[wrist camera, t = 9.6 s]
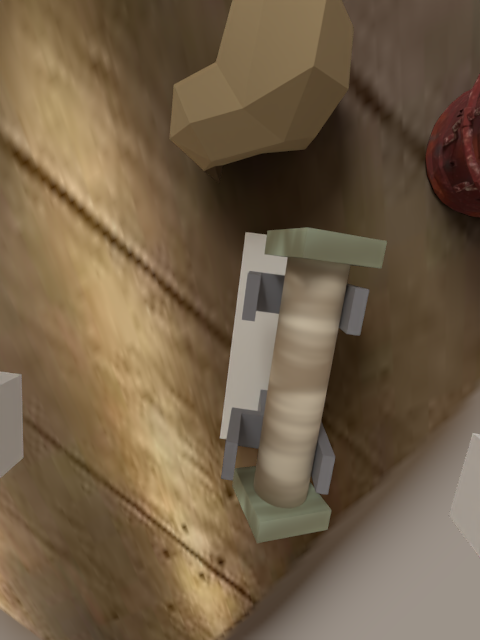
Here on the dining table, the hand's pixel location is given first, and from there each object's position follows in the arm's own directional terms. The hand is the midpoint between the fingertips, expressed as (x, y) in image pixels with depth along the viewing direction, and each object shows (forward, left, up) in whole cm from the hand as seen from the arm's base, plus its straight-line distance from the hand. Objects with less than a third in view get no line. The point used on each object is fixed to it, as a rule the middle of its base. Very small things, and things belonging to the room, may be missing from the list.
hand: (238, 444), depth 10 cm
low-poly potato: (-18, -2, -22) cm, 28 cm away
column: (+3, +3, -16) cm, 16 cm away
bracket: (+2, +3, -22) cm, 22 cm away
